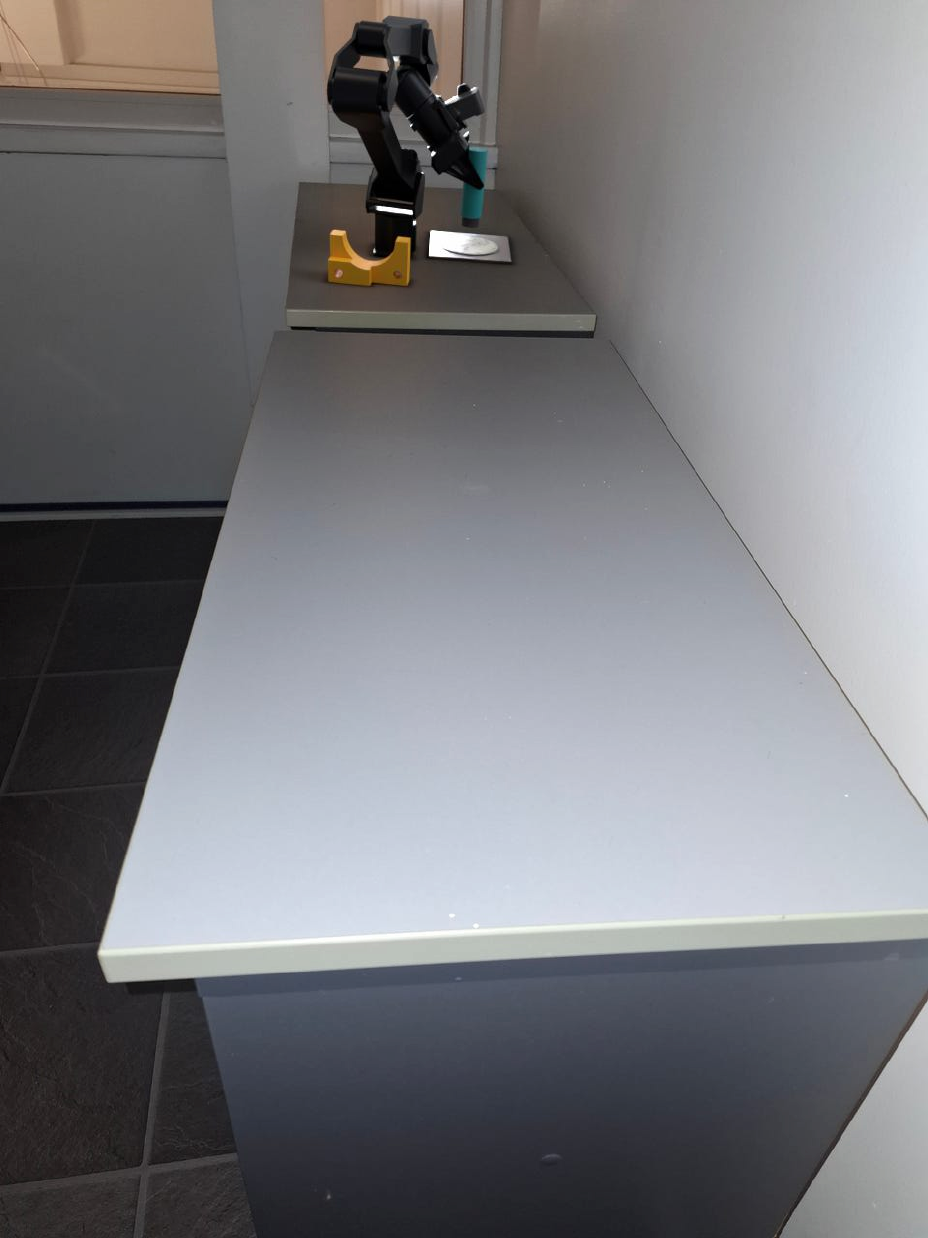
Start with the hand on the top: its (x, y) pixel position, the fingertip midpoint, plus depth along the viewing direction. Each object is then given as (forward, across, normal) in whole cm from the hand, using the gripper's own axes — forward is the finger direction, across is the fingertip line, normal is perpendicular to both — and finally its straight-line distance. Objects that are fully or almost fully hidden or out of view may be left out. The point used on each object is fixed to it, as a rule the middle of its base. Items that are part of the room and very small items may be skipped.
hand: (482, 184), depth 145 cm
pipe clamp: (-5, -22, +19) cm, 30 cm away
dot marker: (+4, 0, +6) cm, 7 cm away
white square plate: (+6, -2, +8) cm, 10 cm away
